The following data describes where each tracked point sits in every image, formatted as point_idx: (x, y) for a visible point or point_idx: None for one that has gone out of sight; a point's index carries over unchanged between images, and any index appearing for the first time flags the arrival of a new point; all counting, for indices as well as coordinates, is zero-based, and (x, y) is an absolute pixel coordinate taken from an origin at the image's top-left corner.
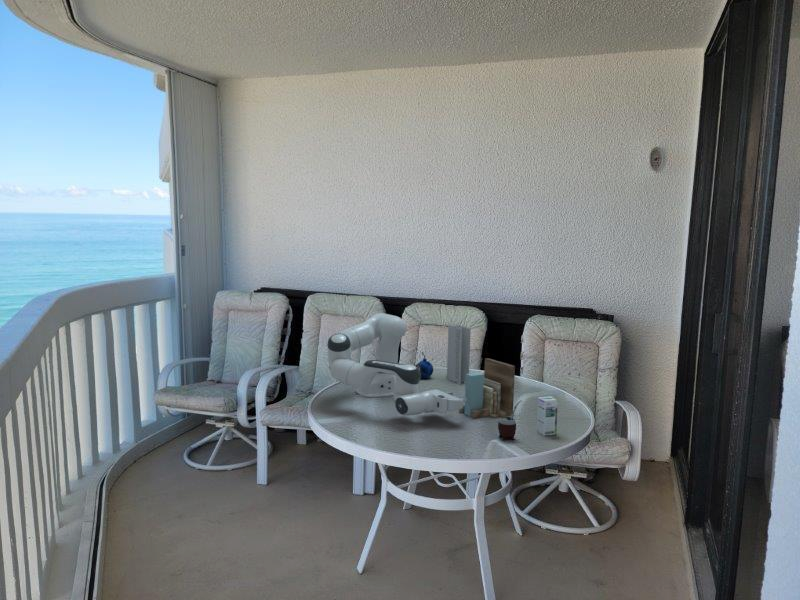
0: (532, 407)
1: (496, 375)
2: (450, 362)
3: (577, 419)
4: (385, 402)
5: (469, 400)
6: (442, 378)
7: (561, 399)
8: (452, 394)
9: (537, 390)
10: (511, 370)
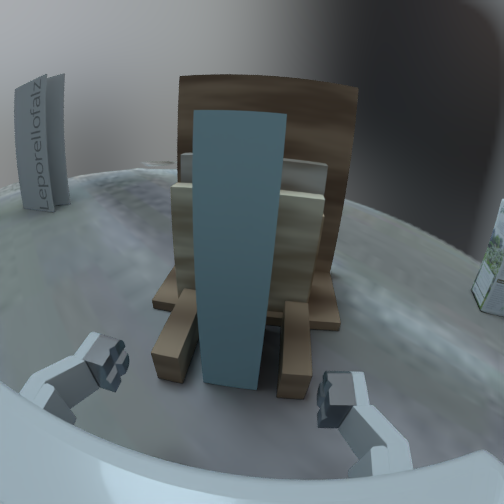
0: None
1: None
2: (24, 169)
3: (400, 227)
4: None
5: (251, 321)
6: (15, 211)
7: None
8: (122, 352)
9: None
10: (356, 105)
